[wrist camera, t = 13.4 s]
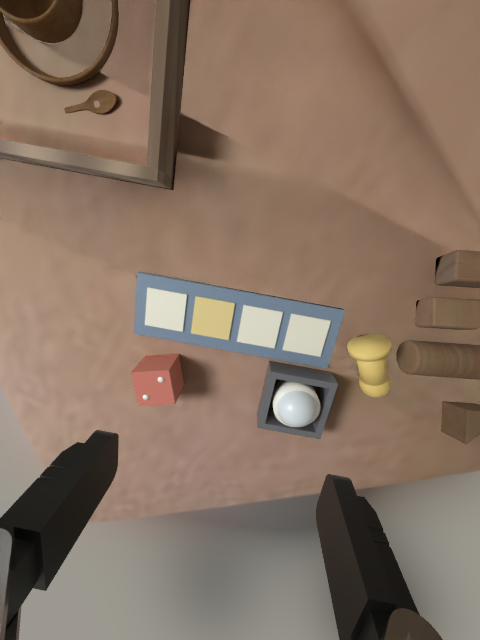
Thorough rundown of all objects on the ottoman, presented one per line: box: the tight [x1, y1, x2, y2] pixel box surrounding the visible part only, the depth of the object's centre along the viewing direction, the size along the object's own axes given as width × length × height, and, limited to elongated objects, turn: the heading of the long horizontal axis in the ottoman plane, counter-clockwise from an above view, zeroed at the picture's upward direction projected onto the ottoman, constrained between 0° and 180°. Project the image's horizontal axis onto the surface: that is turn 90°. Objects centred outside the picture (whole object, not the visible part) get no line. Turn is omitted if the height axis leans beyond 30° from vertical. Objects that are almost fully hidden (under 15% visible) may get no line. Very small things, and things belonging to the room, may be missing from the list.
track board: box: [134, 272, 345, 368], centre depth 32 cm, size 24×8×1 cm, turn 80°
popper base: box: [257, 361, 338, 439], centre depth 34 cm, size 8×8×3 cm
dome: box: [272, 380, 320, 427], centre depth 32 cm, size 6×6×5 cm
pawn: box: [348, 334, 392, 397], centre depth 31 cm, size 4×4×7 cm
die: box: [131, 354, 184, 406], centre depth 33 cm, size 4×4×4 cm
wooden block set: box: [397, 250, 480, 444], centre depth 28 cm, size 18×9×10 cm
